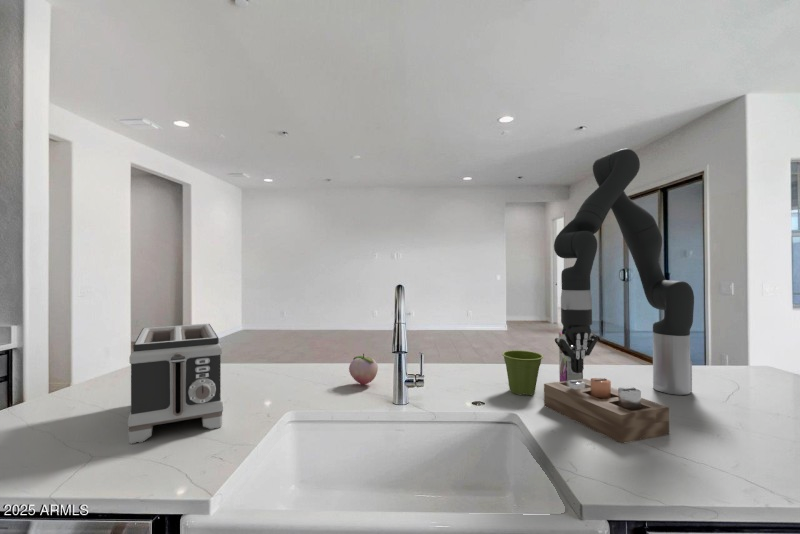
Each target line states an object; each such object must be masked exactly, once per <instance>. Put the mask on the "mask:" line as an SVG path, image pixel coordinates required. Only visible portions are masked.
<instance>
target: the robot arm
mask: <svg viewBox="0 0 800 534" xmlns="http://www.w3.org/2000/svg"><path fill="white" fill-rule="evenodd" d="M640 165H641V162H640V159H639V156H638V154H637V153H636V152H635V151H634V150H633V149H630V148H621V149H618V150H615V151H613V152H610V153H608V154H606V155H604V156H601V157H600V158H597V159H596V160H595V161H594V163H593V165H592V172H593V173H592V175H593V177H594V179H595V182H596V183H597V186H598V187H597V188H596V189H595V190H594V191H593V192H592V193H591V194H590V195H588V197H587V198H585V200H584V201H583V203H582V204H581V206H580V207H579V209H578V211H577V213H576V214H575V217H574V218H573V219H572V220H571V221H570V222H569V223H567V224H566V226H564V227H563V228H562V229H561V230H560V231H559V232H558V234H557V235H556V237H555V239H554V243H553V250H554V253H555V255H556V256H558V257H560V258H561V259H576V260H575V263H574V264H573V266H570V267H569V266H568V267H566V268H564V269H562V271H561V280H560V281H561V294H560V323H561V324H562V330H561V332H562V335H561V336H560V337H559V336H558V337H556V338H554V342H555V344H556V345H557V347H558V349H559V348H560V349H561V351H562V352H563V354H564V355H565V356H568V357H570V358H571V369H572V371H573V372H575V373H582V372H583V371H584V359H585V358H586V357H588V356H590V355H591V353H592V351H593V350H594V348H595V346H596V345H597V343H598V340H599V336H597V335H594V334H593V333H592V329H591V326H592V325H593V299H592V298H593V297H592V292H591V273H592V269H593V265H594V261H595V258H596V254H597V251H598V240H597V237H596V235H595V234H596V233H597V232H599V230H600V228H601V227H602V225H603V223H604V222H605V220H606V218H607V215H608V214H609V212H610V210H611V211H612V214H613V216H614V218H615V220H616V222H617V224H618V227H619V229H620V232H621V235H622V237H623V239H624V242H625V243H626V247H627V248H628V250H629V252H630V254H631V257H632V260H633V262H634V265H635V267H636V269H637V272H638V275H639V279H640V282H641V285H642V289H643V293H644V296H645V297H646V301H647V302H648V303H649V305H650V306H651V307H652V308H654V309H656V310H661V311H665V312H664V318H663V319H661V320H659V321H656V322H654V323H653V324H652V388H653V390H656V391H658V392H661V393H665V394H668V395H669V394H670V395H679V396H685V395H690V394H691V393H692V392H693V361H692V359H691V328H692V326H693V323H694V309H695V308H694V307H695V295H694V290H693V288H692V286H691V285H690V283H688V282H686V281H684V280H673V279H672V280H668V279H666V277H665V275H664V273H663V271H662V268H661V265H660V256H661V252H662V247H663V246H662V245H663V236H662V234H661V231H660V229H659V226H658V224H657V221H656V220H655V218H654V216H653V215H652V214H651V213H650V212H648V211H647V210H646V209H644V208H643V207H642V206H640V205H639V203H636V202H635V201H634V200H632V199H631V198H630V197H629V196H628V195H627V194H626V192H625V190H626V188H627V187H628V186H629V185H630V184H631V182H632V181H633V180H634V179H636V176H637V175H638V173H639V171H640V168H641V167H640ZM580 345H582V346H580ZM579 350H580V351H579ZM583 373H584V372H583Z"/></svg>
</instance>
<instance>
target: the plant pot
mask: <svg viewBox="0 0 800 534" xmlns="http://www.w3.org/2000/svg"><path fill="white" fill-rule="evenodd" d="M501 355H502V356H503V359H504V364H505V367H506V372H507V373H506V374H507V381H508V386H509V387H508V388H509V391H510V392H511V393H513V394H516V395H518V394H521V395H520V396H524V395H527V396H532V395H534V394H535V393H536V387H537V381H538V377H539V370H540V367H541V364H542V360H543V359H544V355H543V354H542V353H539V352H537V351H535V352H534V351H530V350H519V349H517V350H505V351H503V352H502V353H501ZM531 394H532V395H531Z"/></svg>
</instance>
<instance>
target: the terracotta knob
mask: <svg viewBox="0 0 800 534" xmlns="http://www.w3.org/2000/svg"><path fill="white" fill-rule="evenodd" d="M590 380H591V395H592V396H595V397H599V398H610V397H611V388H612V383H611V382H612V381H611V380H610V379H607V378H606V377H603V378H602V377H593V378H592V377H591V378H590Z"/></svg>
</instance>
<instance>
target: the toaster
mask: <svg viewBox="0 0 800 534" xmlns="http://www.w3.org/2000/svg"><path fill="white" fill-rule="evenodd" d="M219 339H220V338H219V336H218V335H217V333H216V332H215V330H214V328H213V326H211V324H210V323H199V324H198V323H197V324H183V325H168V326H153V327H152V326H151V327H142V329H141V331H140V333H139V334H138V336H137V338H136V340H135V341H134V343H133V346H132V347H133V348H132V349H133V350H132V351H131V354H130V356H129V364H130V412H129V415H128V419H127V427H128V443H129V444H130V443H136V442H141V443H143V442H142V441H144V442H145V441H146V440H147V439H149V438H151V437H152V433H153V428H154V426H157V425H158V426H159V425H163V424H165V425H166V424H170V423H176V422H181V421H187V420H194V419H199V418H201V423H202V427H203V428H206V429H208V430H215V429H214V428H216V429H220V428H221V427H222V426H223V412H224V406H223V401H222V397H221V392H222V391H221V383H222V382H221V379H222V377H221V375H222V374H221V373H222V372H221V361H222V360H221V355H222V353H223V350H222V349H223V348H222V346H221V344H220V341H219ZM219 427H220V428H219ZM136 444H137V443H136Z"/></svg>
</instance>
